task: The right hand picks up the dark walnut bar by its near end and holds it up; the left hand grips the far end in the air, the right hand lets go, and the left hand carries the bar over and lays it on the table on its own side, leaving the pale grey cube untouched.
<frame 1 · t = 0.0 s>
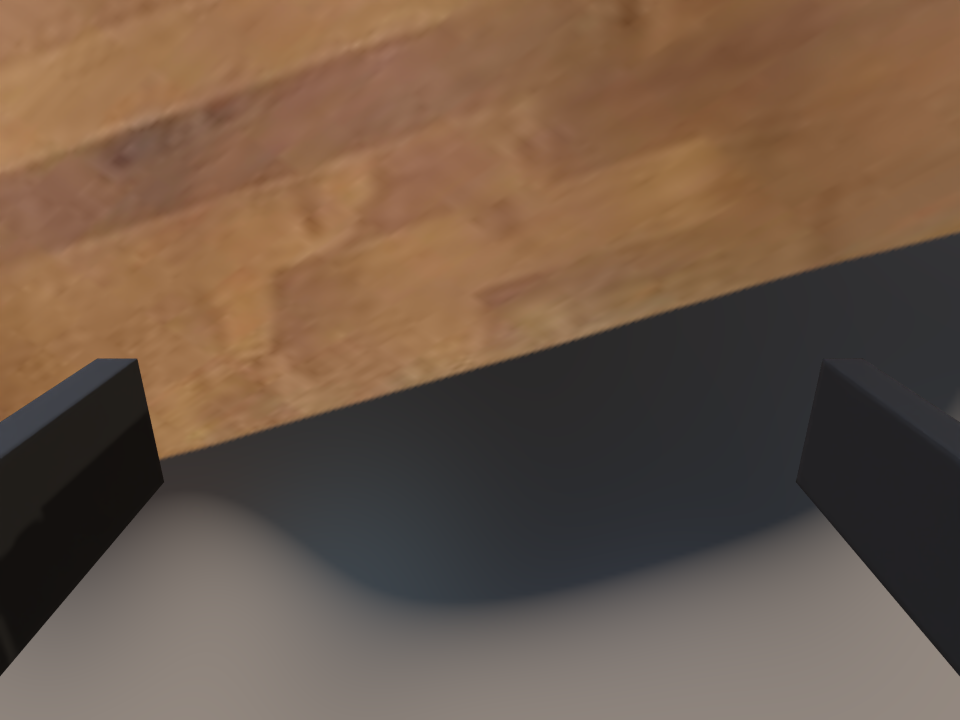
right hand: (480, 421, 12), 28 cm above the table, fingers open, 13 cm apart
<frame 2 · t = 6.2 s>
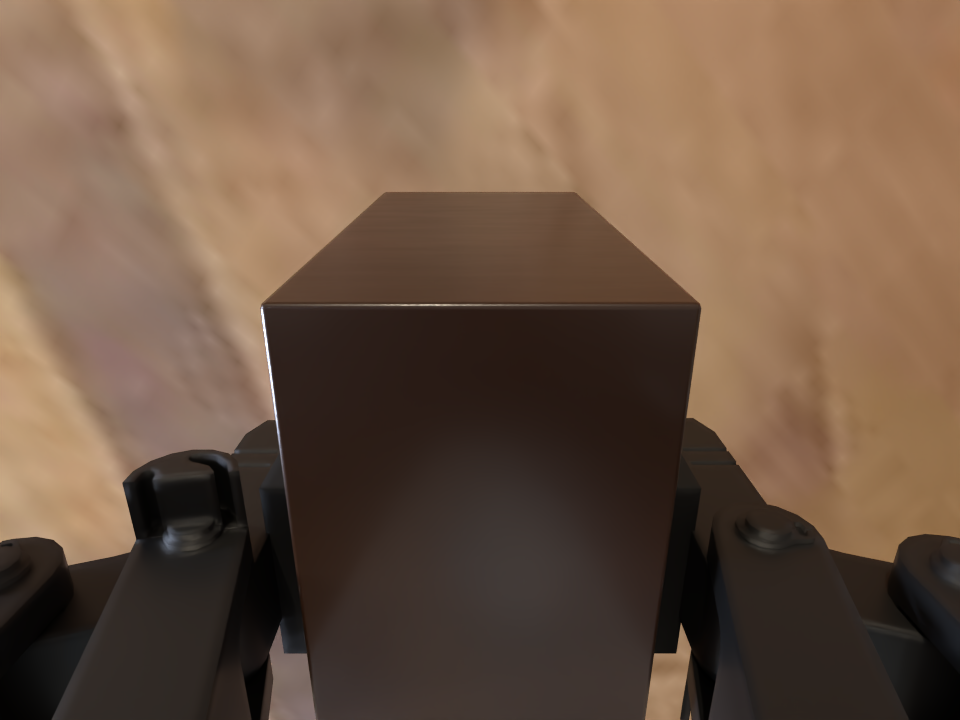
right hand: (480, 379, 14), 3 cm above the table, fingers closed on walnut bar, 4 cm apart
walnut bar: (479, 661, 18), point 2 cm above the table, touching right hand
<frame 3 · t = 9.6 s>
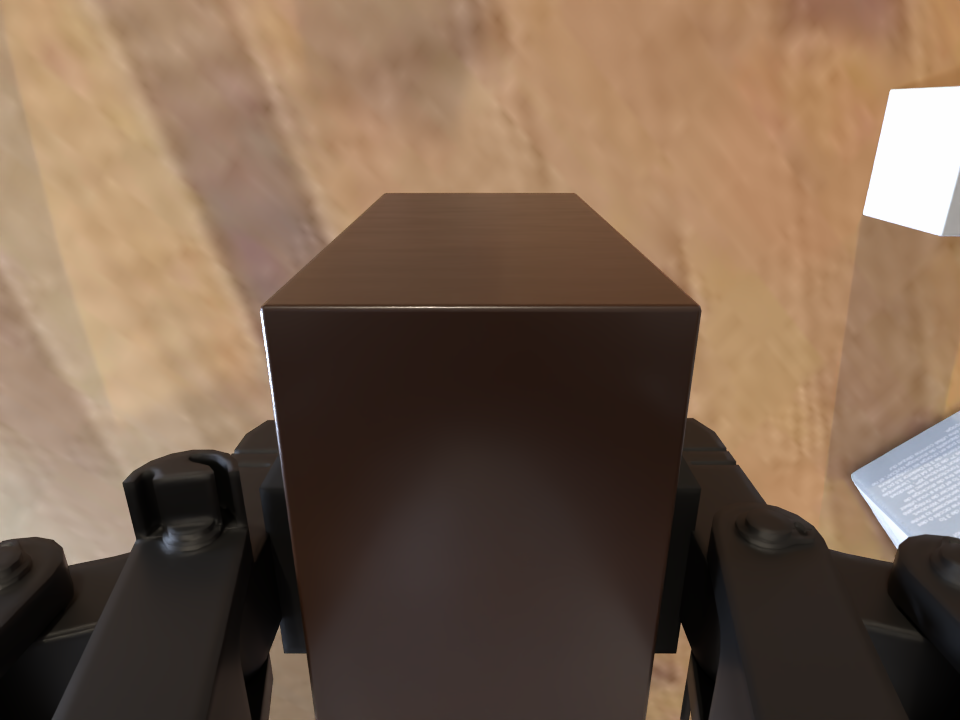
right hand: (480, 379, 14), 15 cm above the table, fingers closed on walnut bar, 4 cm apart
walnut bar: (480, 662, 18), point 14 cm above the table, touching right hand
grey cube: (935, 154, 26), on the table
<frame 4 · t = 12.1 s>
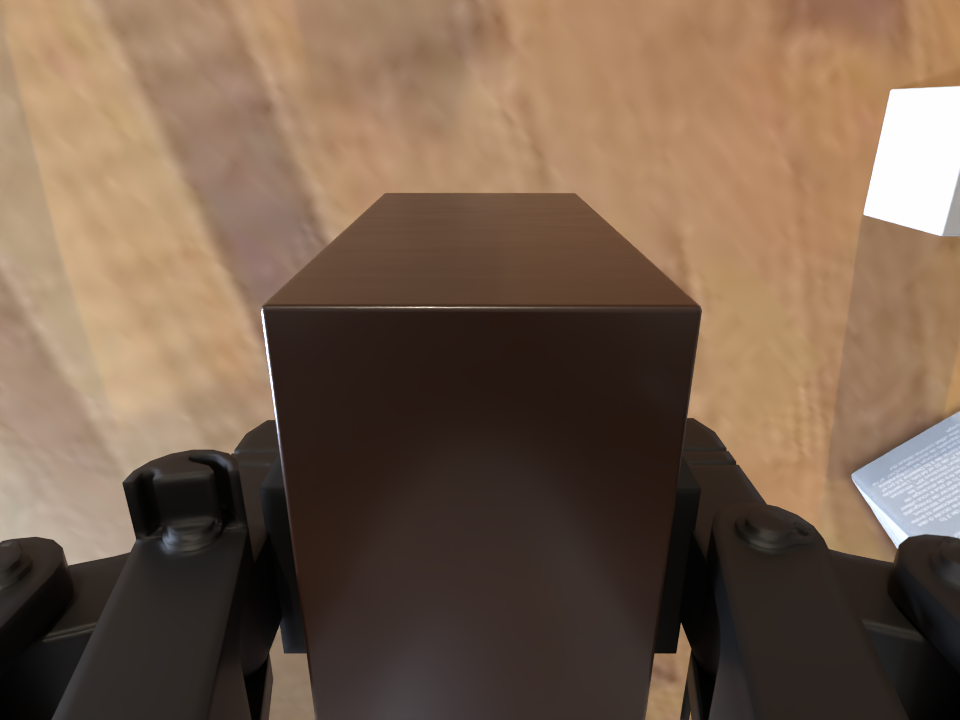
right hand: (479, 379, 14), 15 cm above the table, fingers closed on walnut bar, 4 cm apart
walnut bar: (479, 662, 18), point 14 cm above the table, touching right hand, left hand
grey cube: (935, 154, 26), on the table
when the right hand's fingers open (15 cm above the table, at t = 13.0 s): walnut bar stays where it is, held by the left hand.
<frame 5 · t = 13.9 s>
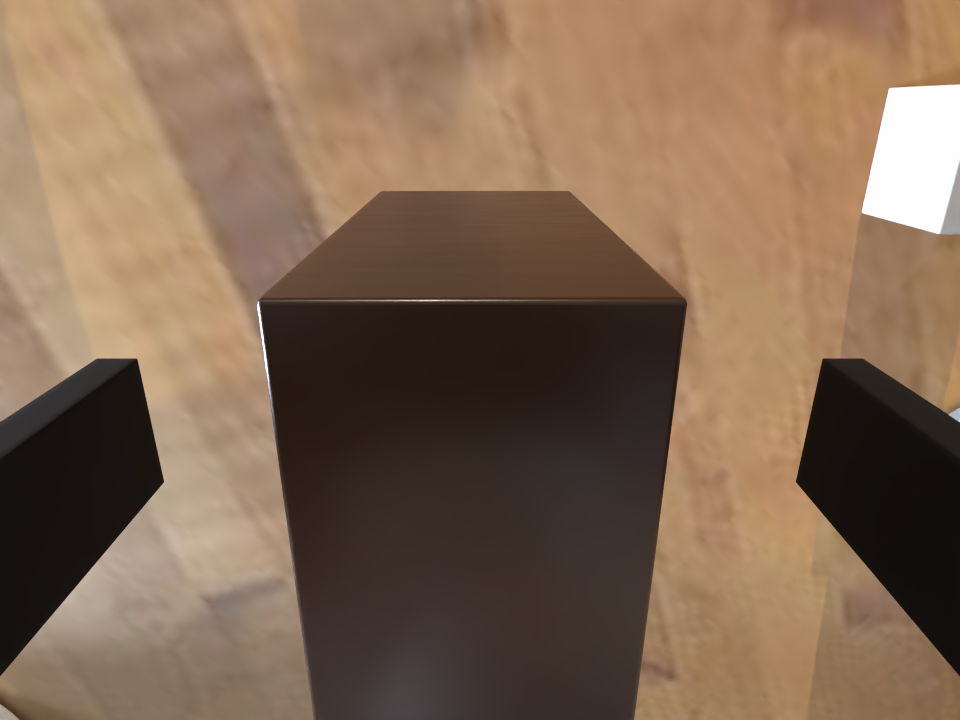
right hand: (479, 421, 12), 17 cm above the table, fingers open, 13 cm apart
walnut bar: (476, 657, 18), point 14 cm above the table, touching left hand
grey cube: (933, 152, 26), on the table
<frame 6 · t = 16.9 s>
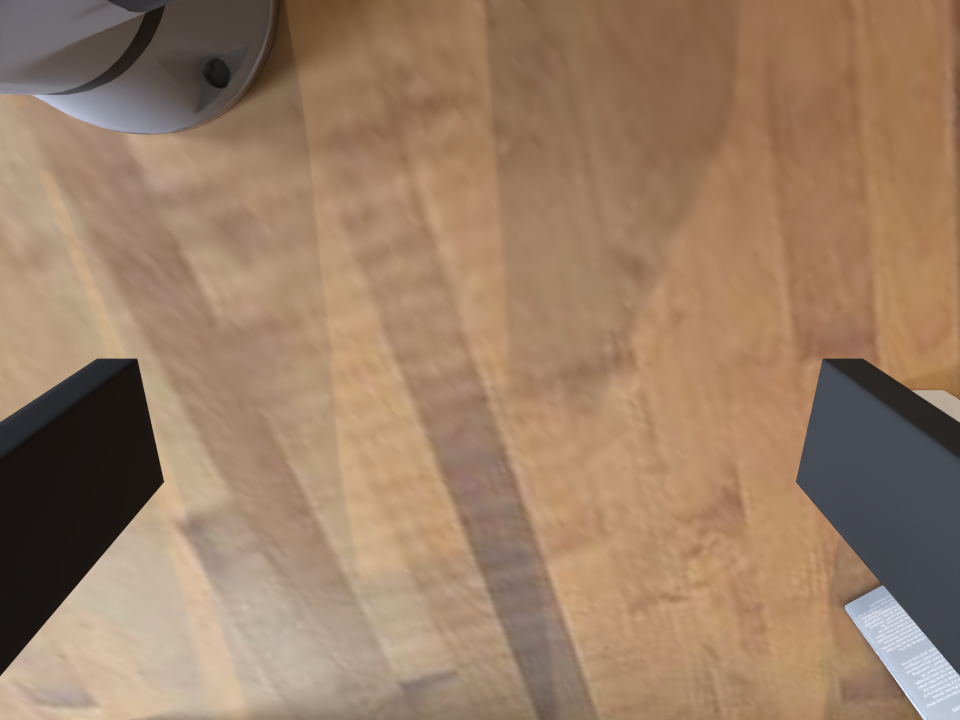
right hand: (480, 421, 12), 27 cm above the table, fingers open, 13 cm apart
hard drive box: (926, 639, 49), on the table
grey cube: (896, 423, 42), on the table
when the left hand's fingers open (5 cm above the table, at t = 22.0 s): walnut bar stays where it is, on the table.
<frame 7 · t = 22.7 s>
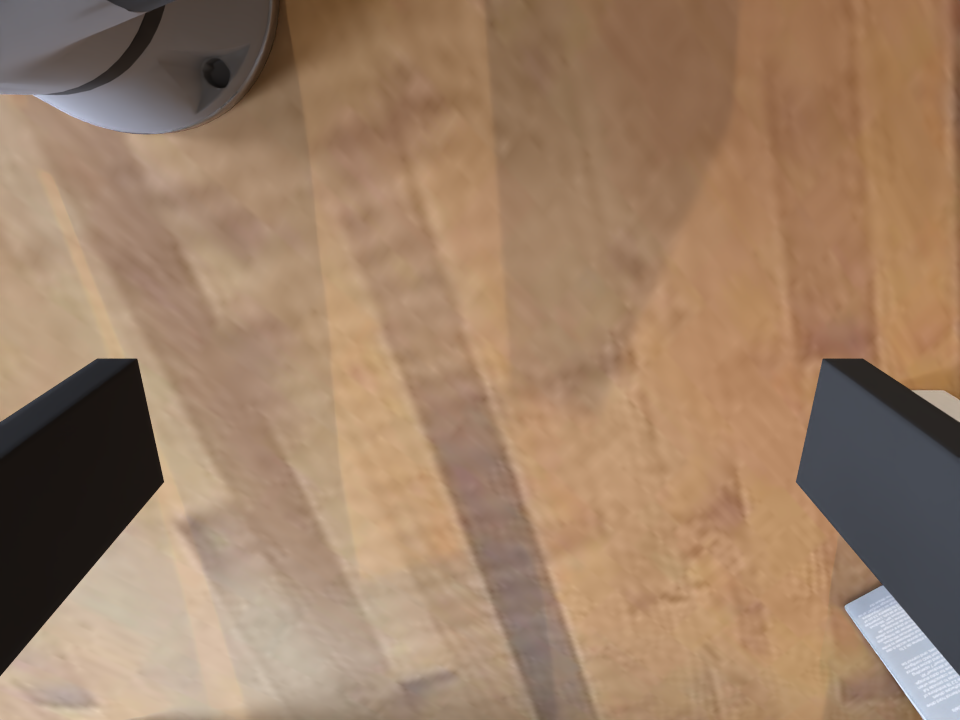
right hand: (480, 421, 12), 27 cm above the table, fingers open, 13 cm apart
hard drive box: (926, 639, 49), on the table
grey cube: (896, 423, 42), on the table
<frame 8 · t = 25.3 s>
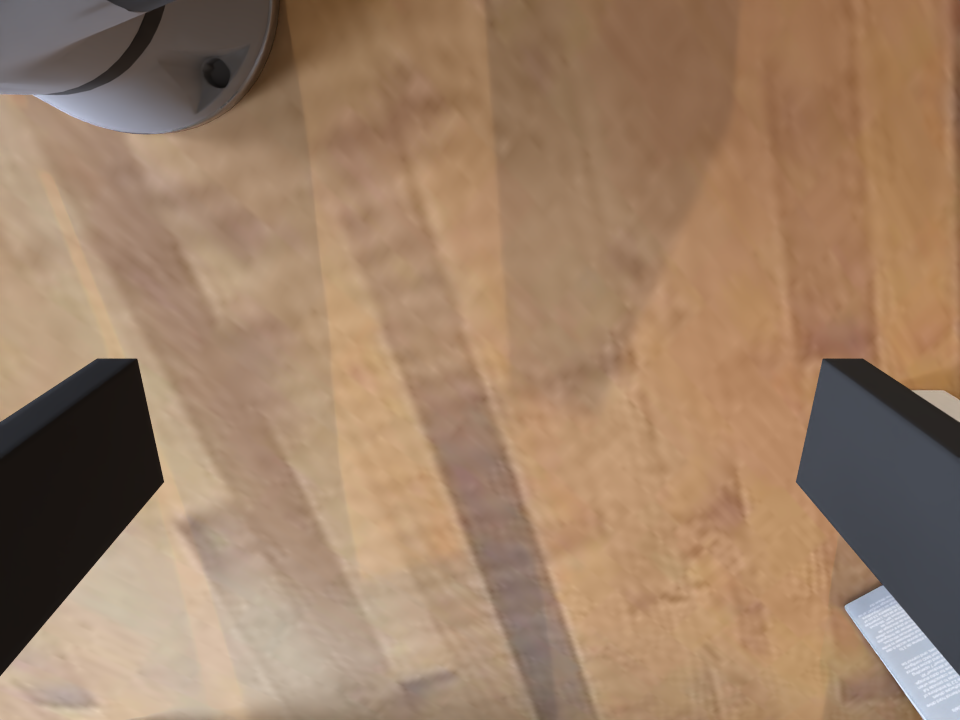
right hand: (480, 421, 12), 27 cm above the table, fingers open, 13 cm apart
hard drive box: (926, 639, 49), on the table
grey cube: (896, 423, 42), on the table
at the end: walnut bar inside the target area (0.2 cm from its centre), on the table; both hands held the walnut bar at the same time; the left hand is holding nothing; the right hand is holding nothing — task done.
